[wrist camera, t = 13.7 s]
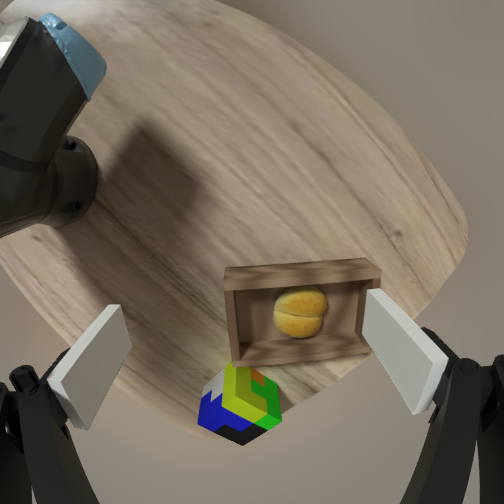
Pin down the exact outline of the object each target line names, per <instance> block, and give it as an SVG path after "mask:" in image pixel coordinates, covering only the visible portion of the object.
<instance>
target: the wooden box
mask: <svg viewBox="0 0 504 504" xmlns="http://www.w3.org/2000/svg"><path fill="white" fill-rule="evenodd" d="M380 281H381V269H379V268H378V267H377V266H376V265H374V264H373V263H372V262H371V261H369V260H368V259H367V258H357V259H344V260H331V261H317V262H303V263H289V264H274V265H259V266H243V267H227V268H226V270H225V275H224V281H223V285H224V295H225V304H226V313H227V322H228V331H229V339H230V348H231V356H232V364H233V367H247V366H263V365H276V364H287V363H297V362H306V361H314V360H322V359H330V358H337V357H343V356H350V355H356V354H362V353H367V352H370V350H371V347H370V345H369V344H368V342H367V341H366V339H365V338H364V336H363V335H362V329H363V321H364V314H365V305H366V296H367V290H369V289H377V288H380ZM301 285H314V286H315V287H317V288H318V289H320V290H321V291H322V292H323V293H324V295H325V296H326V298H327V302H328V305H327V309H326V311H325V312H324V313H323V314H322V323H321V326H320V328H319V329H318V330H317V331H316V332H315V333H314V334H312V335H311V336H308V337H305V338H297V337H291V336H289V335H286V334H284V333H283V332H281V331H279V330H278V329H277V328H276V326H275V324H274V321H273V311H274V305H275V302H276V300H277V298H278V297H279V296H280V294H281V293H282V292H283V291H285V290H286V289H288V288H289V287H292V286H301Z"/></svg>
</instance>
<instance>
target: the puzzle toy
mask: <svg viewBox="0 0 504 504" xmlns="http://www.w3.org/2000/svg"><path fill="white" fill-rule="evenodd" d="M281 417H282V416H281V409H280V403H279V396H278V389H277V383H275V382H273V381H272V380H270V379H269V378H267V377H265V376H264V375H262V374H261V373H259V372H257V371H256V370H254V369H253V368H251V367H250V366H247V367H233V364H232V362H231V363H230V364H229V365H228V366H227V367H226V368H224V369H223V370H222V371H221V372H220V373H219V374H218V375H216V376H215V377H214V378H213V379H212V380H211V381H209V382H208V383H207V384H206V385H205V386H203V391H202V397H201V404H200V410H199V416H198V423H197V424H198V425H200V426H202V427H204V428H206V429H208V430H210V431H212V432H214V433H216V434H218V435H220V436H222V437H224V438H226V439H228V440H231V441H233V442H235V443H237V444H240V445H242V446H243V445H245V444H247V443H248V442H250V441H251V440H253V439H255V438H257V437H258V436H260V435H262V434H263V433H265V432H266V431H268V430H269V429H271V428H273V427H274V426H275V425H277V424H278V423H280V422H282V418H281Z"/></svg>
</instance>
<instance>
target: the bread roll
mask: <svg viewBox="0 0 504 504" xmlns="http://www.w3.org/2000/svg"><path fill="white" fill-rule="evenodd" d="M327 305H328V302H327V298H326V296H325V295H324V293H323V292H322V291H321V290H320V289H318V288H317V287H315V286H314V285H301V286H292V287H289V288H288V289H286V290H285V291H283V292H282V293H281V294H280V296H279V297H278V298H277V300H276V302H275V305H274V311H273V321H274V324H275V326H276V328H277V329H278V330H279V331H281V332H283V333H284V334H286V335H289V336H291V337H297V338H305V337H308V336H311V335H312V334H314V333H315V332H316V331H317V330H318V329H319V328H320V326H321V323H322V314H323V313H324V312H325V311H326V309H327Z"/></svg>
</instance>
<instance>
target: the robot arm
mask: <svg viewBox="0 0 504 504" xmlns="http://www.w3.org/2000/svg"><path fill="white" fill-rule="evenodd" d="M106 71H107V65H106V62H105V60H104V58H103V57H102V56H101V55H100V53H99V52H98V51H97V50H96V49H95V48H94V47H93V46H92V45H91V44H90V43H89V42H88V41H87V40H86V39H85V38H84V37H83V36H81V35H80V34H79V33H78V32H77V31H76V30H74V29H73V28H72V27H71V26H68V25H67V24H66V23H65V22H64V21H62V20H61V19H60V18H59V17H57V16H56V15H54V14H52V13H47V14H45V15H44V16H42V17H40V19H39V21H38V22H37V21H35V20H33V19H31V18H30V17H28V16H25V17H22V18H20V19H17V20H15V21H12V22H7V23H5V22H3V21H1V20H0V238H2V237H4V236H6V235H9V234H11V233H14V232H16V231H19V230H21V229H24V228H26V227H29V226H31V225H34V224H37V223H39V224H44V225H49V226H64V225H67V224H69V223H72V222H74V221H76V220H78V219H79V218H81V217H82V216H83V215H84V214H85V212H86V211H87V210H88V208H89V207H90V205H91V203H92V201H93V198H94V195H95V192H96V187H97V168H96V163H95V159H94V156H93V154H92V152H91V150H90V149H89V147H88V146H87V145H86V144H85V143H84V142H83V141H82V140H80V139H79V138H77V137H74V136H69V135H67V133H68V131H69V130H70V128H71V127H72V125H73V123H74V122H75V120H76V119H77V117H78V116H79V114H80V113H81V111H82V110H83V108H84V107H85V105H86V104H87V102H90V100H91V96H92V94H93V93H94V91H95V90H96V88H97V87H98V85H99V84H100V82H101V81H102V80H103V78H104V76H105V74H106ZM362 335H363V336H364V338H365V339H366V341H367V342H368V344H369V345H370V347H371V348H372V350H373V352H374V353H375V355H376V356H377V358H378V359H379V361H380V362H381V364H382V366H383V367H384V369H385V370H386V372H387V373H388V375H389V377H390V378H391V380H392V381H393V383H394V385H395V386H396V388H397V389H398V391H399V393H400V394H401V396H402V398H403V399H404V401H405V402H406V404H407V406H408V408H409V409H410V411H411V412H412V414H413V415H414V414H417V413H420V412H423V411H426V410H428V408H429V406H430V404H431V402H432V400H433V401H434V402H435V404H436V405H437V406H436V408H435V410H434V412H433V414H432V416H431V418H430V420H429V422H428V423H430V427H429V430H428V433H427V437H426V440H425V443H424V446H423V449H422V452H421V455H420V457H419V460H418V463H417V465H416V468H415V471H414V473H413V475H412V478H411V481H410V483H409V485H408V487H407V490H406V492H405V494H404V496H403V498H402V500H401V502H400V504H462V502H463V499H464V496H465V492H466V488H467V485H468V480H469V476H470V472H471V467H472V462H473V457H474V451H475V445H476V440H477V446H478V458H479V475H480V504H504V355H498V356H497V357H495V360H494V362H493V364H492V366H483V367H481V366H480V365H479V364H478V363H477V362H476V361H474V360H471V359H469V358H462V359H460V358H459V357H458V356H457V355H456V354H455V353H454V352H453V351H452V350H451V349H450V348H449V347H448V346H447V345H446V344H444V342H443V341H442V340H441V339H439V337H438V336H437V335H436V334H435V333H434V332H433V331H431V330H429V329H427V328H425V327H422V328H419V327H418V326H417V324H415V322H414V321H413V320H412V319H411V318H410V317H409V316H408V315H407V314H406V313H405V312H404V311H403V310H402V309H401V308H400V307H399V306H398V305H397V304H395V303H394V302H393V301H392V300H391V299H390V298H389V297H388V296H387V295H386V294H385V293H384V292H383V291H382V290H381V289H380V288H377V289H369V290H367V296H366V305H365V314H364V321H363V329H362ZM131 348H132V344H131V341H130V338H129V334H128V331H127V327H126V324H125V320H124V316H123V312H122V308H121V305H108V306H107V307H106V308H105V309H104V310H103V311H102V313H101V314H100V315H99V316H98V317H97V318H96V319H95V321H94V322H93V323H92V324H91V325H90V326H89V327H88V329H87V330H86V331H85V332H84V333H83V334H82V336H81V337H80V338H79V339H78V340H77V342H76V343H75V344H74V345H73V346H72V348H69V349H67V350H66V351H64V352H63V353H61V354H60V356H59V357H58V358H57V360H56V361H55V362H54V363H53V364H52V366H50V368H49V369H48V370H47V371H46V373H45V374H44V375H43V376H42V378H41V379H40V380H39V378H38V376H37V374H36V372H35V370H34V368H33V367H32V366H30V365H23V366H20V367H17V368H16V369H14V370H13V371H12V372H11V374H10V376H9V379H10V381H11V383H12V385H13V386H14V388H15V390H16V391H9V390H8V388H7V386H6V385H5V384H4V383H2V382H0V504H32V489H33V492H34V496H35V499H36V502H37V504H99V502H98V500H97V498H96V496H95V494H94V492H93V490H92V487H91V485H90V483H89V481H88V479H87V476H86V474H85V472H84V469H83V467H82V465H81V462H80V460H79V457H78V455H77V452H76V449H75V447H74V444H73V441H72V438H71V435H70V432H69V429H68V427H67V426H66V424H65V423H66V421H67V419H68V418H69V419H70V421H71V423H72V424H73V426H74V427H76V428H80V429H84V430H89V428H90V426H91V423H92V422H93V420H94V418H95V416H96V413H97V411H98V410H99V408H100V406H101V404H102V402H103V400H104V398H105V396H106V394H107V392H108V390H109V389H110V387H111V385H112V383H113V381H114V379H115V377H116V376H117V374H118V372H119V370H120V368H121V366H122V365H123V363H124V361H125V359H126V357H127V355H128V354H129V352H130V350H131ZM5 426H6V427H7V429H8V432H7V433H6V429H5ZM31 485H32V488H31Z"/></svg>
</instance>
